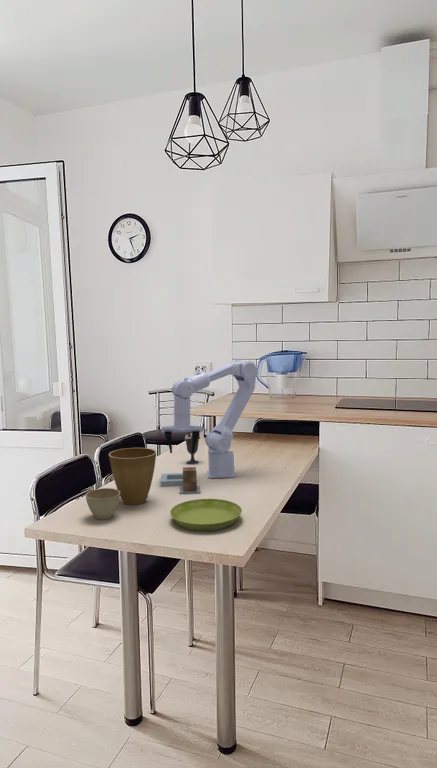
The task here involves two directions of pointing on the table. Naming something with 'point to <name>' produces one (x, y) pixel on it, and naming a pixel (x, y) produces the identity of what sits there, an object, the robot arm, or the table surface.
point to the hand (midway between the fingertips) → (181, 452)
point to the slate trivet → (189, 491)
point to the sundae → (189, 447)
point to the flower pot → (103, 502)
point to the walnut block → (189, 479)
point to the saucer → (206, 514)
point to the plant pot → (133, 473)
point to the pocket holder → (171, 479)
